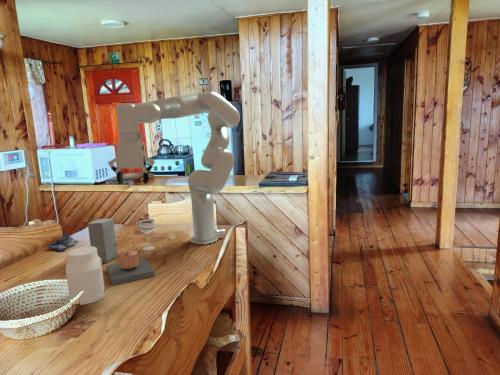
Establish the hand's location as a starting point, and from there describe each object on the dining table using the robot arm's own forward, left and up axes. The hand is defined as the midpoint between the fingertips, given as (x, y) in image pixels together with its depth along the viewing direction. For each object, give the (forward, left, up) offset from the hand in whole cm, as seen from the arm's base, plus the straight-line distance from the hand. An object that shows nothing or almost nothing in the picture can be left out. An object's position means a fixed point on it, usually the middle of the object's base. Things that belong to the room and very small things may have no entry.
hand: (133, 183), depth 143 cm
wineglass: (-6, -11, -31) cm, 33 cm away
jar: (+21, +23, -31) cm, 44 cm away
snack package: (+26, -33, -31) cm, 52 cm away
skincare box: (+12, -8, -31) cm, 34 cm away
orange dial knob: (+6, +12, -27) cm, 30 cm away
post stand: (+6, +12, -30) cm, 33 cm away
